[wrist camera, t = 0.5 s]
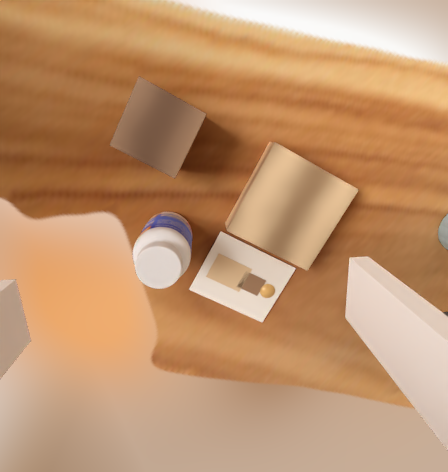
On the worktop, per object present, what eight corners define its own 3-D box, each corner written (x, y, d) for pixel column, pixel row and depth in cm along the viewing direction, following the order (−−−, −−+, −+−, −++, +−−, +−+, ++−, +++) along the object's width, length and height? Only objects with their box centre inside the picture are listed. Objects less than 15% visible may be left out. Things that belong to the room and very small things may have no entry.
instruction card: (189, 288, 40) (189, 290, 40) (220, 230, 38) (220, 231, 38) (262, 321, 42) (262, 323, 42) (295, 267, 40) (296, 268, 40)
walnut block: (127, 142, 35) (109, 145, 28) (151, 86, 34) (138, 76, 27) (179, 169, 36) (174, 178, 30) (205, 117, 35) (206, 113, 28)
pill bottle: (149, 205, 37) (131, 230, 28) (198, 217, 38) (196, 245, 29) (140, 251, 39) (120, 289, 29) (186, 261, 39) (181, 302, 30)
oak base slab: (224, 223, 38) (226, 230, 35) (269, 141, 36) (275, 142, 33) (299, 260, 40) (307, 270, 37) (347, 185, 38) (358, 189, 35)
